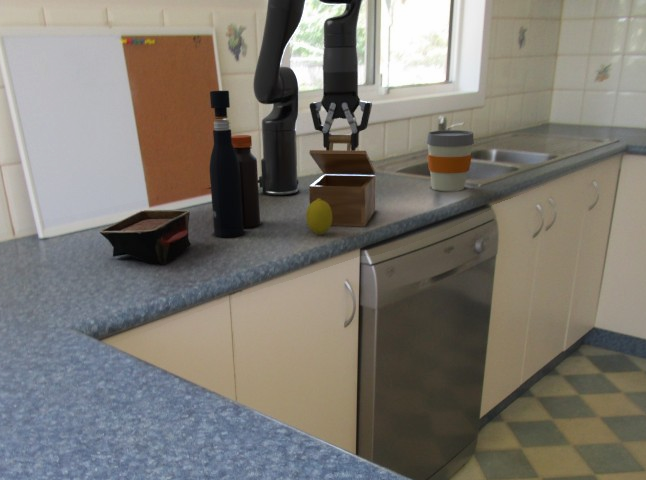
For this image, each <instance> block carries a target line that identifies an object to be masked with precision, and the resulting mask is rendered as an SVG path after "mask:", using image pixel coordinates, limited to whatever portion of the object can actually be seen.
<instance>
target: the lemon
mask: <svg viewBox="0 0 646 480" xmlns="http://www.w3.org/2000/svg"><path fill="white" fill-rule="evenodd" d="M305 217H306V219H305V221H306V224H307V226H308V228H309V229H310V230H311V232H314V233H316V234H317V235H318V236H322V235H323V234H324V233H325V232H327V231H328V230H329V229H330V228H331V226H332V225H331V224H332V211H331V208H330V206H329V204H328V203H327V202H325V201H323V200H321V199H317V200H316V201H313V202H312V203H311V204H310V203H309V205H308V207H307V209H306V216H305Z"/></svg>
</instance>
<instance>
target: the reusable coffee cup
mask: <svg viewBox="0 0 646 480" xmlns="http://www.w3.org/2000/svg"><path fill="white" fill-rule="evenodd" d="M426 139H427V140H426V144H427V147H428V148H427V149H428V153H427V154H426V155H427V166H428V171H429V173H430V185H431V189H432V190H434V191H440V192H442V191H443V192H458V191H462V190H464V189H465V186H466V180H467V177H468V172H469V171H470V168H471V163H472V157H473V153H472V148H473V145H474V143H475V141H474V140H475V138H474V132H473V131H469V130H459V129H457V130H456V129H447V130H446V129H443V130H433V131H429V132H427V138H426Z"/></svg>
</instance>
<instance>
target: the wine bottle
mask: <svg viewBox="0 0 646 480" xmlns="http://www.w3.org/2000/svg"><path fill="white" fill-rule="evenodd" d="M209 100H210V109H214V119H215V120H214V121H213V130H212V135H213V137H212V138H213V146H212V150H211V154H210V158H209V181H210V182H209V184H211V187H210V193H211V194H210V195H211V206H212V220H213V230H214V231H213V233H214V236H215V237H217V238H223V239H225V238H226V239H228V238H229V239H230V238H237V237H241V236H242V235H244V233H245V232H244V229H245V228H243V213H242V196H241V180H240V166H239V162H238V158H237V155H236V152H235V149H234V147H233V144H232V137H231V136H232V129H230V127H231V126H230V124H231V123H230V121H229V119H227V118H228V109H229V108H230V107H231V105H230V104H231V103H230V91H229V90H211V91H209Z"/></svg>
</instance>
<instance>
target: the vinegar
mask: <svg viewBox="0 0 646 480" xmlns="http://www.w3.org/2000/svg"><path fill="white" fill-rule="evenodd" d="M231 137H232V144H233V147H234V149H235V152H236V155H237V158H238V162H239V166H240V180H241V196H242V213H243V229H250V228H251V229H252V228H256V227H258V226H260V224H261V213H260V212H261V211H260V193H259V183H258V180H259V173H258V172H259V171H258V159H257V157H256V156H255V155H254V154H253V153H252V148H253V147H252V146H253V140H252V135H249V134H236V135H231Z"/></svg>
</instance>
